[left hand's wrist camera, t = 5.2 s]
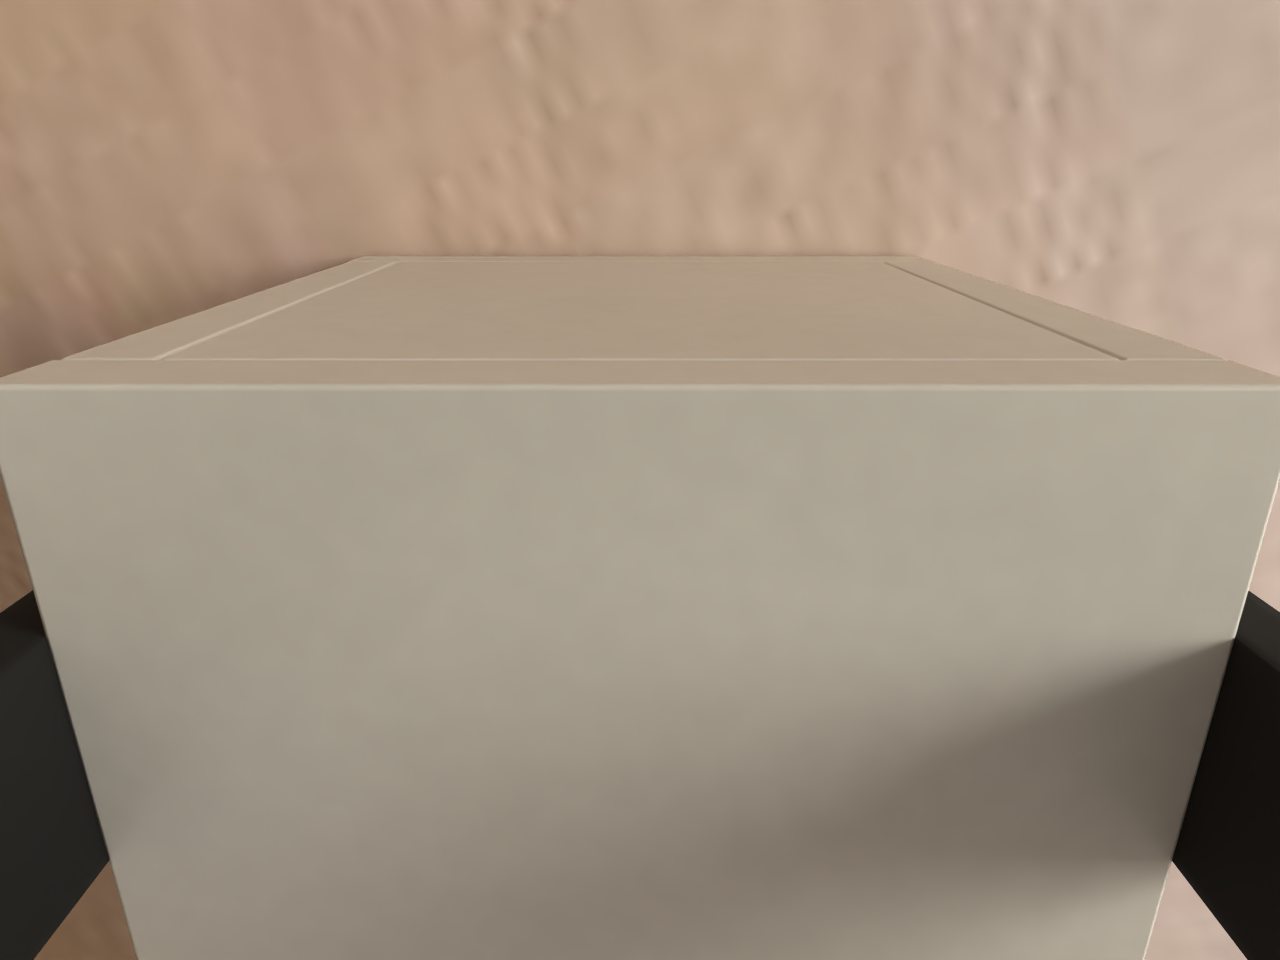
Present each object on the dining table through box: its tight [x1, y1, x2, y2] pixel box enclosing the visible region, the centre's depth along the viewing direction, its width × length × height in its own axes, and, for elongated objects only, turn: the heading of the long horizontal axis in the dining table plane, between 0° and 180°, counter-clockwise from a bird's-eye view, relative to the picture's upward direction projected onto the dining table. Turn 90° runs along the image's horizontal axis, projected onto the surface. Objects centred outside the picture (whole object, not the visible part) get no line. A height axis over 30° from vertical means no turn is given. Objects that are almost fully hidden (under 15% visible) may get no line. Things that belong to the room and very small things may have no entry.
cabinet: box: [0, 256, 1280, 960], centre depth 15 cm, size 19×11×11 cm, turn 0°
